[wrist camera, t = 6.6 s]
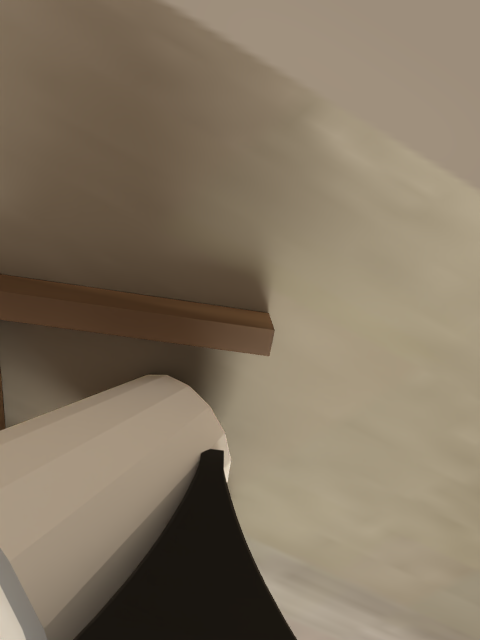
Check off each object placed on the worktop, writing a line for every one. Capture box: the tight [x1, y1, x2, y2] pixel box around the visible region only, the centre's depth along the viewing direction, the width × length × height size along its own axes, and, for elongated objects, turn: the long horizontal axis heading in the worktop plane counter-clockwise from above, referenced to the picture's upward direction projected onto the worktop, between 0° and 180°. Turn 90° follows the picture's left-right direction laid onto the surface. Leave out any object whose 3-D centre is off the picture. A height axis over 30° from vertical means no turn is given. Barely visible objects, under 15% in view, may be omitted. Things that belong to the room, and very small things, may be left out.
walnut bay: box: [0, 274, 274, 430], centre depth 14 cm, size 12×12×2 cm
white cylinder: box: [0, 375, 231, 640], centre depth 11 cm, size 7×7×7 cm
